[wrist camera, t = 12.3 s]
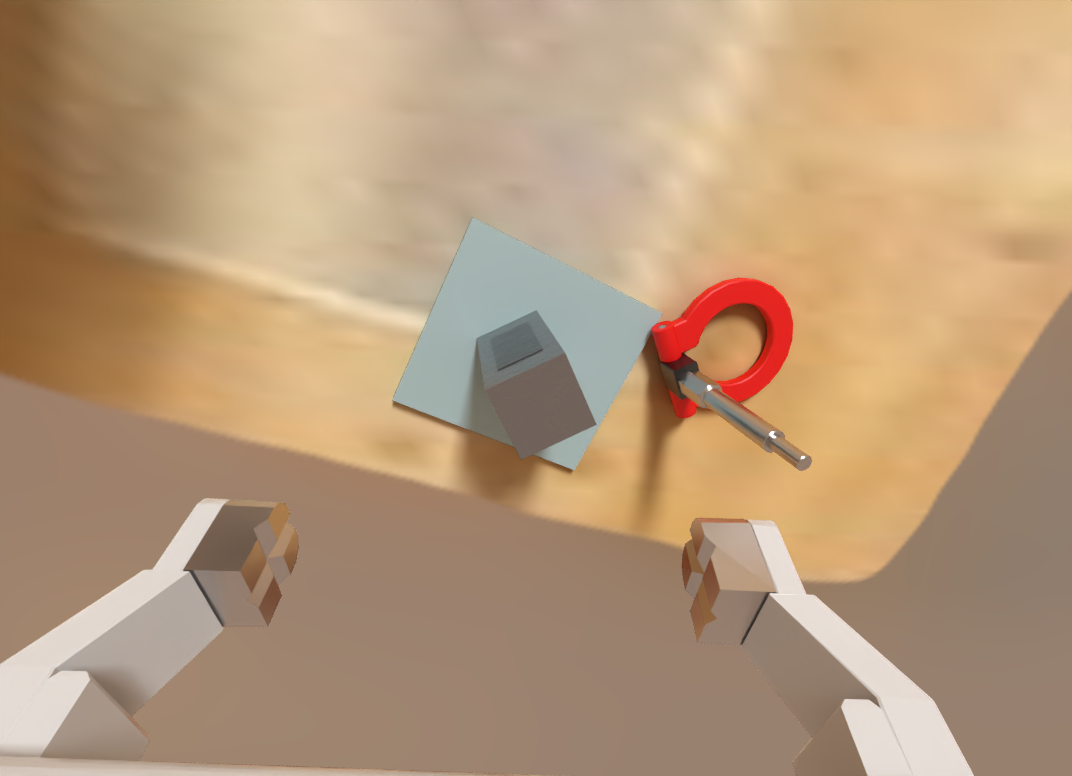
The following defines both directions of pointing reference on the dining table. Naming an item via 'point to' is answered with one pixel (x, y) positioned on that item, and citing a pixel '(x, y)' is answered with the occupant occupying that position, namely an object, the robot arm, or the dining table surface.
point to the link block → (532, 385)
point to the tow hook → (724, 395)
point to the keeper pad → (501, 297)
